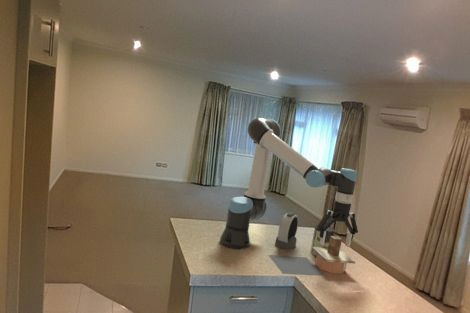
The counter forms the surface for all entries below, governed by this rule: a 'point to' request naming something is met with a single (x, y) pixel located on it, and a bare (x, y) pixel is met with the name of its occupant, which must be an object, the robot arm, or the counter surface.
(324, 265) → the bowl
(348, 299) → the counter surface
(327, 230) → the coffee can
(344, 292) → the counter surface
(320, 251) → the lid
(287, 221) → the alarm clock
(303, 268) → the mat
